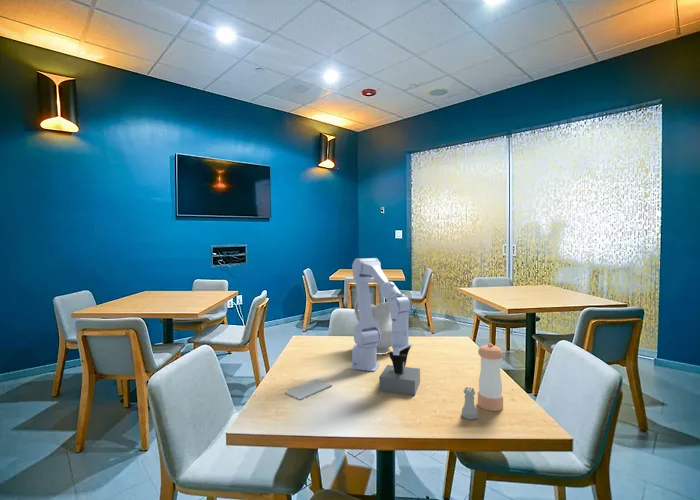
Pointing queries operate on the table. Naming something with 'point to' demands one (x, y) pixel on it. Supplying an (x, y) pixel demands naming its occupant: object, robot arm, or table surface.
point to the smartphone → (308, 389)
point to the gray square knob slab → (400, 380)
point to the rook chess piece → (469, 404)
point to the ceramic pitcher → (380, 324)
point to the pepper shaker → (490, 378)
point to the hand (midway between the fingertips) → (400, 369)
